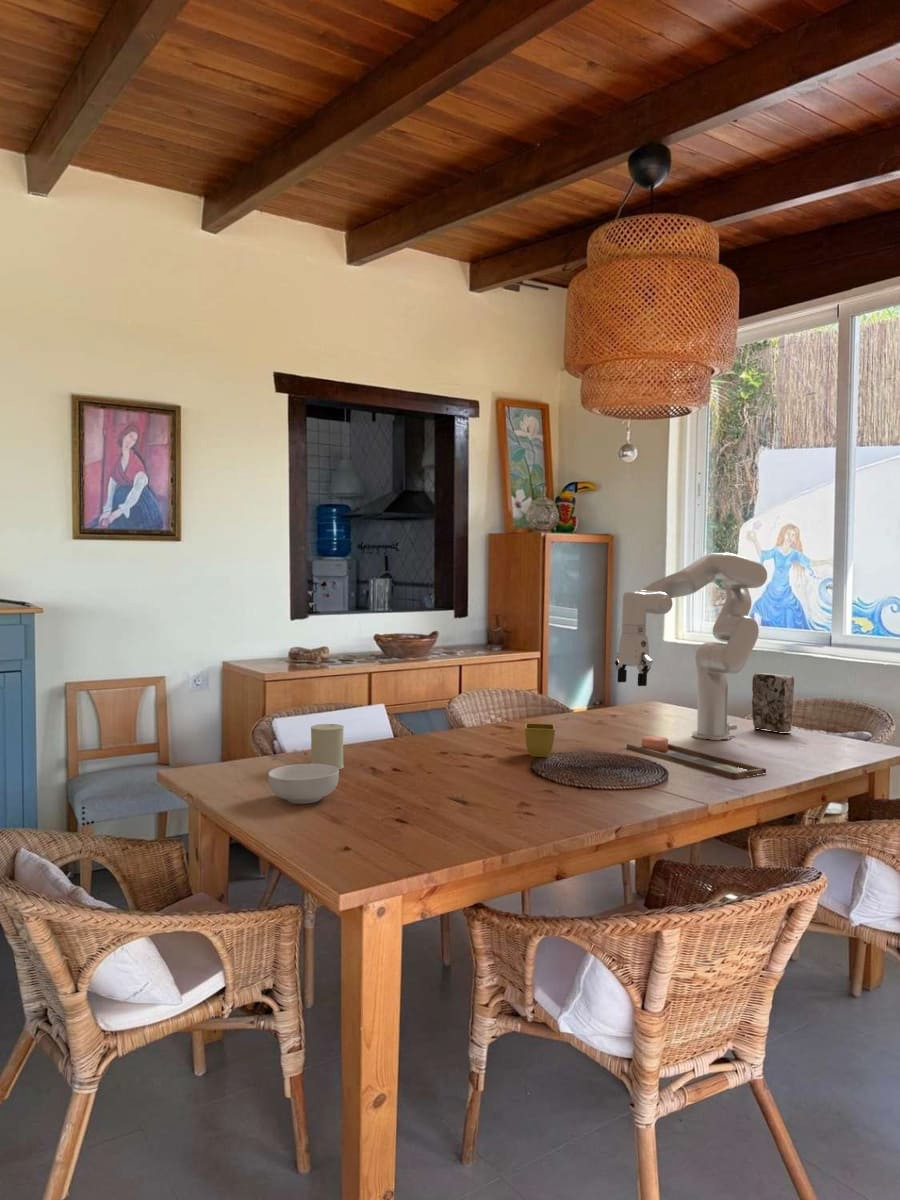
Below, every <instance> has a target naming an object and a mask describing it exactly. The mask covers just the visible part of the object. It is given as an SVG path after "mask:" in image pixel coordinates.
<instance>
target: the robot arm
mask: <svg viewBox="0 0 900 1200" xmlns="http://www.w3.org/2000/svg"><path fill="white" fill-rule="evenodd" d="M717 579H719V580H720V579H721V581H722V583H723V586H724V588H725V592H726V593H725V594H726V595H725V601H724V603H723V605H722V608H721V610H720V612H719V614H718V616H717V618H716V620H715V622H714V625H713V627H712V635H713V637H714V638H715V639H716V640H717V641H719V642H713V641H712V642H711V641H709V642H705V643H702V644H701V645H699V646H698V648H697V650H696V652H695V657H694V658H695V664H696V665H695V666H696V671H697V722H696V724H697V725H696V729H697V730H693V731H692V733H691V734H692V737H693V736H694V738H695V739H700V740H706V739H710V740H709V741H722V740H721V739H728V738H731V737H732V734H731V733H730V731H735V730H737V728H738V726H737V724H736V723H732V724H730V723H728V693H729V692H728V691H729V690H728V689H729V686H728V685H729V684H728V679H727V676H726V674H727V675H734V674H738V673H739V672H741V671H742V670H743V668H744V667H745V665H746V663H747V661H748V660H749V658H750V656H751V653H752V652H753V649H754V647H755V645H756V643H757V640H758V637H759V635H760V634H759V632H760V630H759V625H758V622H757V621H756V620H755V618H753V617H752V616H749V614H750V611H751V609H752V597H751V594H750V591H749V589H758V588H760V587H762V586H763V585H764V584H765V583H766V582H767V579H768V571H767V569H766V568H765V566H764V565H763V564H762V563H761V562H758V561H755V560H753V559H750V558H746V557H744V556H742V555H741V556H740V555H738V554H734V553H730V552H711V553H706V554H705V555H704V556H702V557H700V558H698V559H696V560H695V561H694V562H692V563H691V564H689V565H687V566H686V567H685V568H683V569H681V570H680V571H677V572H674V573H673V574H669V575H667V576H665V577H662V578H660V579H658V580H655V581H653V582H650V583H649V584H648V585H646V586H645V587H643V588H641V589H639V591H631V590H630V591H626V592H624V593H623V595H622V615H621V616H622V618H621V634H620V638H619V642H618V643H619V644H618V651H617V653H616V654H613V659H614V664H615V666H616V670H617V683H626V682H627V675H628V674H627V673H628V671H627V667H628V666H629V667H636V668H637V670H638V672H639V673H637V686H638V687H646V686H647V684H648V681H647V680H648V679H647V677H648V674H649V671H650V670H651V668H652V665H653V662H654V661H653V659H652V658H650V649H649V647H650V645H649V637H648V635H647V615H652V616H662V615H666V614H668V613H669V612H670V611H671V610H672V607H673V600H672V599H675V598H680V597H686V596H689V595H692V594H695V593H697V592H699V591H700V590H701V589H702V588H704V587H706V586H707V585H709V584H710V583H712V582H713V581H715V580H717ZM731 739H732V738H731ZM728 740H729V739H728Z"/></svg>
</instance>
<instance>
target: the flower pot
mask: <svg viewBox="0 0 900 1200" xmlns="http://www.w3.org/2000/svg"><path fill="white" fill-rule="evenodd" d="M524 725H525V726H524V731H525V732H524V734H525V745H526V749H527V752H528V754H529V756H530V757H531V758H534V757H535V758H548V757H549V756H550V754H551V752H552V749H553V747H554V741H555V740H554V739H555V733H556V728H555V727H556V726H555V724H554V723H533V722H532V723H529V722H528V723H525V724H524Z"/></svg>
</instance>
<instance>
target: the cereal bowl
mask: <svg viewBox="0 0 900 1200" xmlns="http://www.w3.org/2000/svg"><path fill="white" fill-rule="evenodd" d="M267 774H268V775H267V779H268V784H269V785H268V786H269V788H270V790H271V792H272V793H273V794H274V795H275V796H277V797H278V798H281V799H283V800H287V801H288V803H291V804H302V805H303V804H312V803H316V802H320V800H321V799H322V798H324V797H326V796H328V795H329V794H331V793H333V791H335V789H336V787H337V786H338V784H339V779H340V777H339V776H340V770H338V768H336V767H334V766H330V765H324V764H311V763H298V764H289V765H284V766H283V765H282V766H280V767H276V768H272V769H271V770H270V771H268V773H267Z"/></svg>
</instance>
